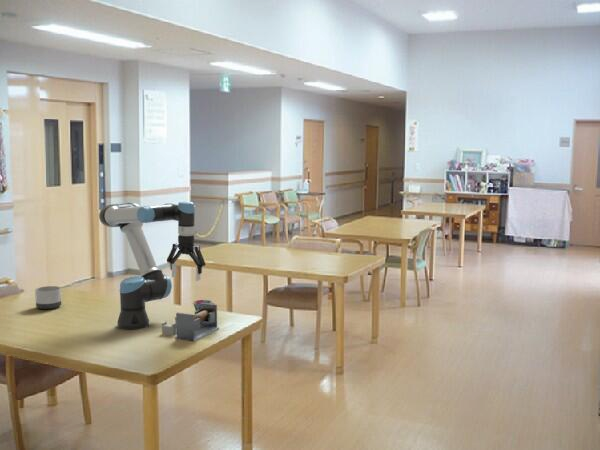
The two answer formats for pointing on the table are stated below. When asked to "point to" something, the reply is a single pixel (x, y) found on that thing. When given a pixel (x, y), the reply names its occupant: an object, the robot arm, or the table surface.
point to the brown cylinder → (202, 315)
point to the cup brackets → (195, 321)
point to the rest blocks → (169, 328)
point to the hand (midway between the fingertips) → (185, 278)
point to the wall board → (202, 332)
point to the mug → (197, 303)
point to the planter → (48, 297)
